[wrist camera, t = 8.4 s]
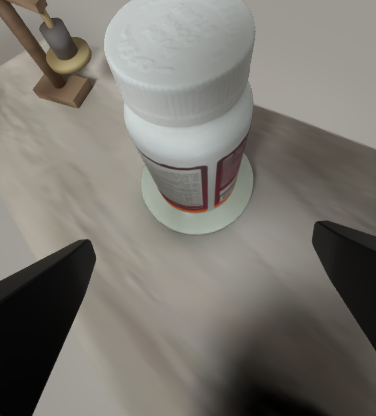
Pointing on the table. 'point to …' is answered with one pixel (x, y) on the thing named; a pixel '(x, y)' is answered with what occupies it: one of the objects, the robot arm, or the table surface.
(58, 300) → the robot arm
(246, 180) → the dish
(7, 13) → the balance
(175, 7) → the pill bottle
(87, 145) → the table surface
